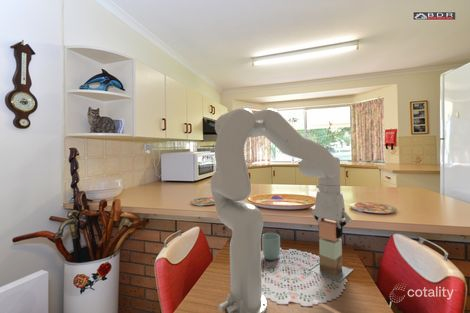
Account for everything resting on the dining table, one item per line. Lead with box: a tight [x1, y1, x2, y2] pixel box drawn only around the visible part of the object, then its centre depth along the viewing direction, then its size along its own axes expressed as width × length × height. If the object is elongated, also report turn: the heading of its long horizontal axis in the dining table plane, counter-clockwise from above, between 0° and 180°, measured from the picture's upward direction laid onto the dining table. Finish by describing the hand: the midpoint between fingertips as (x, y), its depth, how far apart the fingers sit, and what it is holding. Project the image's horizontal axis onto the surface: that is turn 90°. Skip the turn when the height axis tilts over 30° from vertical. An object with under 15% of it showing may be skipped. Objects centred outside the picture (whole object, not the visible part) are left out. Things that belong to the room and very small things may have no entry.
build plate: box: [308, 260, 354, 283], centre depth 86 cm, size 12×12×1 cm
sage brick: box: [318, 237, 343, 260], centre depth 86 cm, size 6×6×6 cm
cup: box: [261, 232, 281, 261], centre depth 98 cm, size 8×8×10 cm
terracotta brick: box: [318, 219, 342, 241], centre depth 86 cm, size 6×6×6 cm
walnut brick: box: [319, 254, 343, 276], centre depth 86 cm, size 6×6×6 cm
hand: (330, 234), depth 86 cm, fingers closed on terracotta brick, 6 cm apart
